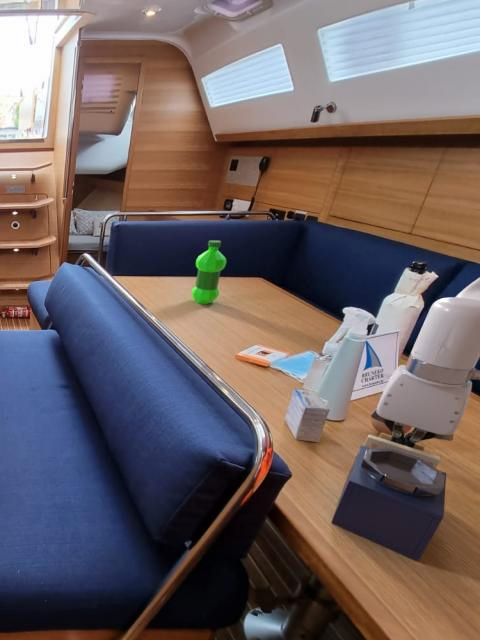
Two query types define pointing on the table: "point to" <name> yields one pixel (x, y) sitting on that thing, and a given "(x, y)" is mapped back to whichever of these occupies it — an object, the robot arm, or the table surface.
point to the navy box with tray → (387, 513)
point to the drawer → (401, 448)
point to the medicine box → (306, 415)
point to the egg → (384, 429)
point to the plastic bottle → (208, 274)
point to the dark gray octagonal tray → (402, 472)
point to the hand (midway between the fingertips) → (397, 453)
